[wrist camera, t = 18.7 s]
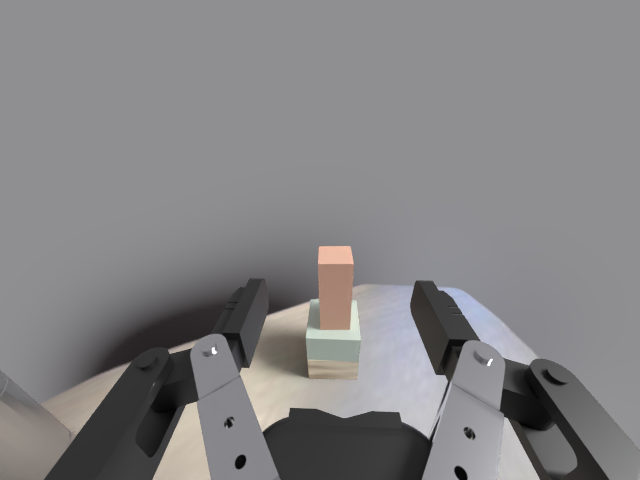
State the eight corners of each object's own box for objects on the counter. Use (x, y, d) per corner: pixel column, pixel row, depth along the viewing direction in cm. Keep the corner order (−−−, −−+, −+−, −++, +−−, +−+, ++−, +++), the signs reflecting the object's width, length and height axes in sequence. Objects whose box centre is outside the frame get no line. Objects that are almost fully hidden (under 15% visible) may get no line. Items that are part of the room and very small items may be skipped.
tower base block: (357, 380, 38) (358, 361, 35) (308, 378, 38) (307, 360, 36) (352, 338, 45) (354, 320, 42) (312, 337, 45) (311, 319, 43)
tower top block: (358, 361, 35) (360, 340, 33) (307, 359, 36) (305, 338, 33) (354, 320, 42) (356, 300, 40) (311, 319, 43) (310, 299, 40)
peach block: (350, 329, 34) (353, 263, 29) (320, 329, 35) (318, 264, 29) (347, 307, 38) (350, 246, 33) (320, 307, 39) (319, 246, 33)
